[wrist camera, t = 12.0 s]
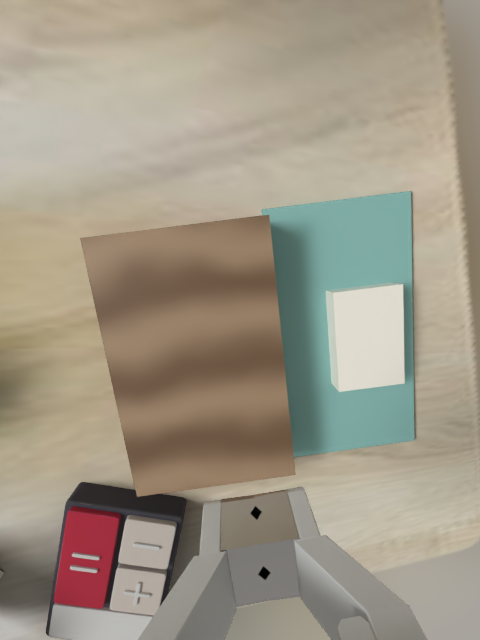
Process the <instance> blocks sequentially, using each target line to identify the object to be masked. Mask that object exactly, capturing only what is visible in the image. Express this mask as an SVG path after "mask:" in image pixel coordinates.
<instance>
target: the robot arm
mask: <svg viewBox="0 0 480 640" xmlns="http://www.w3.org/2000/svg"><path fill="white" fill-rule="evenodd" d="M292 597H301V600H302V601H303V602H304V603H305V605H306V606H307V608H308V609H309V610H310V612H311V613H312V614H313V616H314V617H315V618H316V620H317V621H318V622H319V623H320V625H321V626H322V628H323V629H324V630H325V632H326V633H327V634H328V636H329V637H330V638H331V640H427V638H426V636H425V634H424V633H423V631H422V629H421V627H420V625H419V623H418V621H417V620H416V617H415V616H414V614H413V612H412V610H411V608H410V606H409V605H408V604H406V603H405V602H404V601H403V600H402V599H401V598H399V597H398V596H397V595H396V594H395V593H393V592H392V591H391V590H390V589H389V588H387V587H386V586H385V585H384V584H383V583H382V582H381V581H379V580H378V579H377V578H376V577H375V576H373V575H372V574H371V573H370V572H369V571H368V570H366V569H365V568H364V567H363V566H362V565H361V564H359V563H358V562H357V561H356V560H355V559H353V558H352V557H351V556H350V555H349V554H348V553H346V552H345V551H344V550H343V549H342V548H341V547H339V546H338V545H337V544H336V543H335V542H334V541H332V540H331V539H330V538H329V537H328V536H326V535H323V536H321V535H320V532H319V530H318V527H317V524H316V521H315V518H314V515H313V512H312V510H311V507H310V504H309V501H308V498H307V495H306V492H305V490H304V488H303V487H297V488H292V489H286V490H281V491H275V492H269V493H263V494H257V495H251V496H243V497H235V498H227V499H222V500H215V501H207V502H205V503H204V506H203V515H202V528H201V540H200V552H199V555H198V556H194V557H193V558H192V560H191V561H190V563H189V564H188V566H187V567H186V569H185V570H184V572H183V573H182V575H181V576H180V578H179V579H178V581H177V582H176V584H175V585H174V586H173V588H172V589H171V591H170V592H169V594H168V595H167V597H166V598H165V600H164V601H163V603H162V604H161V606H160V607H159V609H158V610H157V612H156V613H155V615H154V616H153V618H152V619H151V621H150V622H149V624H148V625H147V627H146V628H145V630H144V631H143V632H142V634H141V635H140V637H139V638H138V640H225V638H226V635H227V633H228V630H229V628H230V625H231V623H232V620H233V617H234V615H235V612H236V607H239V606H244V605H249V604H254V603H259V602H264V601H270V600H278V599H284V598H292Z"/></svg>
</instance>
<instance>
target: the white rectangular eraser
mask: <svg viewBox="0 0 480 640" xmlns="http://www.w3.org/2000/svg"><path fill="white" fill-rule="evenodd" d="M326 306H327V322H328V337H329V353H330V368H331V383H332V384H333V386H334V387H335V388H336V389H337V390H338V391H339V392H343V391H351V390H358V389H366V388H374V387H382V386H389V385H397V384H405V374H404V306H403V284H398V283H383V284H375V285H367V286H359V287H351V288H343V289H335V290H327V291H326Z"/></svg>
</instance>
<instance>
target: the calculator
mask: <svg viewBox="0 0 480 640" xmlns="http://www.w3.org/2000/svg"><path fill="white" fill-rule="evenodd" d="M185 506H186V500H185V499H184V498H182V497H176V496H169V495H163V494H154V495H147V496H140V497H137V494H136V490H131V489H124V488H118V487H112V486H105V485H99V484H92V483H86V482H81V483H80V484H79V485H78V486H77V488H76V489H75V491H74V492H73V493H72V495H71V496H70V498H69V499H68V500H67V502H66V505H65V511H64V518H63V524H62V531H61V537H60V544H59V550H58V556H57V563H56V569H55V576H54V582H53V589H52V595H51V602H50V608H49V614H48V621H47V627H46V634H47V635H48V636H50V637H54V638H63V639H71V640H138V638H139V637H140V635H141V634H142V632H143V631H144V630H145V628H146V627H147V625H148V624H149V622H150V621H151V619H152V618H153V616H154V615H155V613H156V612H157V610H158V609H159V607H160V606H161V604H162V603H163V601H164V600H165V598H166V597H167V594H168V589H169V584H170V580H171V575H172V570H173V565H174V561H175V556H176V551H177V546H178V542H179V537H180V532H181V527H182V523H183V517H184V512H185Z"/></svg>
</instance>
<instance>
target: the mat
mask: <svg viewBox="0 0 480 640" xmlns="http://www.w3.org/2000/svg"><path fill="white" fill-rule="evenodd" d="M263 215H269V217H270V227H271V237H272V247H273V257H274V267H275V277H276V286H277V296H278V306H279V316H280V326H281V336H282V346H283V356H284V366H285V376H286V385H287V395H288V405H289V415H290V425H291V435H292V445H293V455H294V457H298V456H305V455H312V454H320V453H327V452H334V451H341V450H348V449H356V448H363V447H370V446H377V445H384V444H392V443H399V442H406V441H413V440H415V437H414V367H413V296H412V226H411V191H408V192H400V193H392V194H384V195H376V196H368V197H360V198H351V199H343V200H335V201H327V202H319V203H311V204H303V205H295V206H287V207H279V208H271V209H263V210H262V216H263ZM383 283H398V284H403V306H404V374H405V384H397V385H389V386H382V387H374V388H366V389H358V390H351V391H343V392H339V391H338V390H337V389H336V388H335V387H334V386H333V384H332V383H331V368H330V353H329V337H328V322H327V306H326V291H327V290H335V289H343V288H351V287H359V286H367V285H375V284H383Z"/></svg>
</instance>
